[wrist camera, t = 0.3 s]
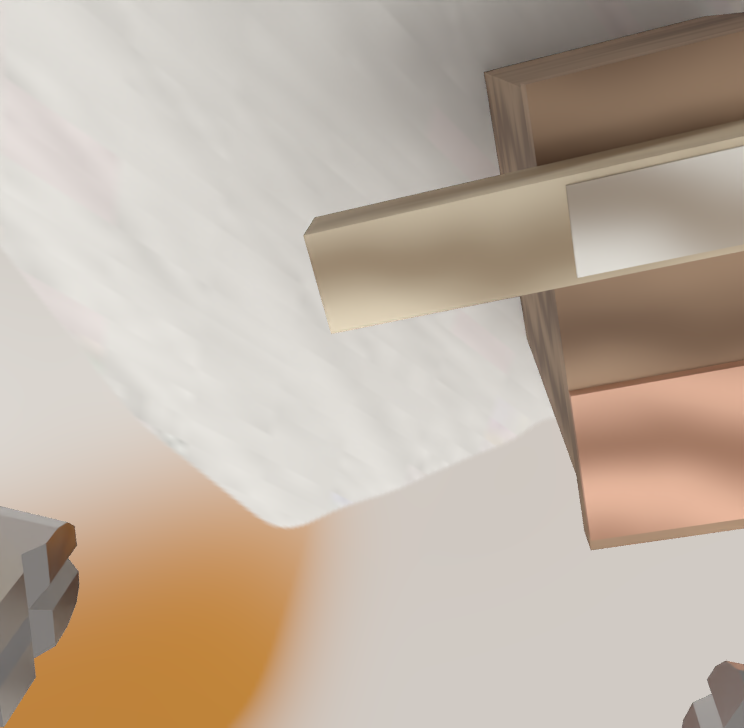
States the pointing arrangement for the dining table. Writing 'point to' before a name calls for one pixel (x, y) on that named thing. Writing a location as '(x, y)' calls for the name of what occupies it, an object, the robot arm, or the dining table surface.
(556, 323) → the walnut shelf
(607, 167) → the birch block
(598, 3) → the dining table surface
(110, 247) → the dining table surface
